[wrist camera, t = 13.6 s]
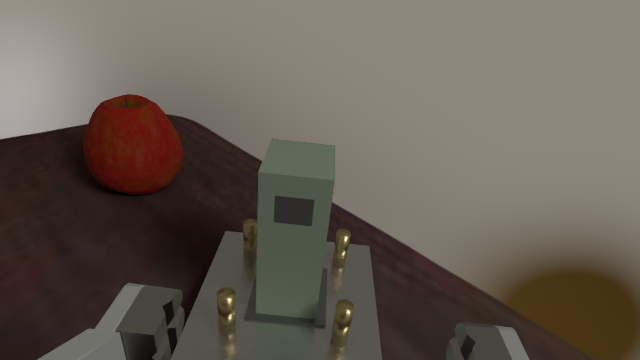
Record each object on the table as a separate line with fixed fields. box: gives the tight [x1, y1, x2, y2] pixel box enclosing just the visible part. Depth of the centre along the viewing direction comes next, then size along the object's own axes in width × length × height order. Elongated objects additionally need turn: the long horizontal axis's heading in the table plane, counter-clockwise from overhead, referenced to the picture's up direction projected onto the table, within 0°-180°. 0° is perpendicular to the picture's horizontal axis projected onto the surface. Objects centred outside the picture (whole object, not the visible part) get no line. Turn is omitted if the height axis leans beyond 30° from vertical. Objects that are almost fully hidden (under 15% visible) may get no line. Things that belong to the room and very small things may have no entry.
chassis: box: [170, 219, 382, 360], centre depth 30 cm, size 14×14×5 cm
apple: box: [83, 94, 183, 195], centre depth 43 cm, size 10×10×10 cm
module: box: [256, 139, 335, 319], centre depth 27 cm, size 4×5×12 cm
